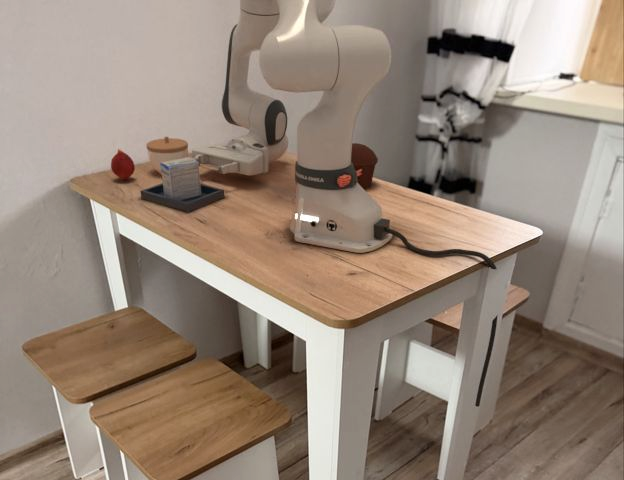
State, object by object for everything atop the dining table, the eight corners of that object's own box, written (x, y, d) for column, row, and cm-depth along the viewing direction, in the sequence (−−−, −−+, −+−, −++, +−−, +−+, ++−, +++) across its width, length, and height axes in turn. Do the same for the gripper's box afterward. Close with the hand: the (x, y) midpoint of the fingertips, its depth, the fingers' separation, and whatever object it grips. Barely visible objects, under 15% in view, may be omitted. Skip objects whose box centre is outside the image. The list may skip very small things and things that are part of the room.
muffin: (385, 185, 155) (388, 146, 150) (355, 194, 149) (357, 154, 143) (352, 175, 162) (354, 137, 157) (323, 183, 156) (324, 144, 151)
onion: (139, 177, 158) (135, 146, 154) (132, 184, 153) (127, 152, 149) (118, 176, 159) (113, 145, 154) (110, 183, 154) (104, 151, 150)
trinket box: (198, 172, 163) (195, 136, 157) (166, 181, 156) (162, 144, 151) (174, 164, 168) (170, 129, 163) (142, 172, 162) (137, 137, 156)
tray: (224, 197, 146) (224, 189, 145) (188, 212, 137) (187, 204, 136) (178, 185, 153) (177, 177, 152) (141, 198, 144) (140, 190, 143)
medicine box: (192, 191, 149) (189, 156, 144) (202, 196, 146) (198, 160, 141) (164, 198, 144) (159, 162, 140) (173, 203, 142) (168, 166, 137)
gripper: (212, 136, 161) (175, 147, 151) (272, 148, 151) (236, 160, 142) (214, 159, 164) (177, 171, 155) (273, 173, 155) (238, 186, 145)
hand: (206, 166), depth 148 cm, fingers open, 8 cm apart
